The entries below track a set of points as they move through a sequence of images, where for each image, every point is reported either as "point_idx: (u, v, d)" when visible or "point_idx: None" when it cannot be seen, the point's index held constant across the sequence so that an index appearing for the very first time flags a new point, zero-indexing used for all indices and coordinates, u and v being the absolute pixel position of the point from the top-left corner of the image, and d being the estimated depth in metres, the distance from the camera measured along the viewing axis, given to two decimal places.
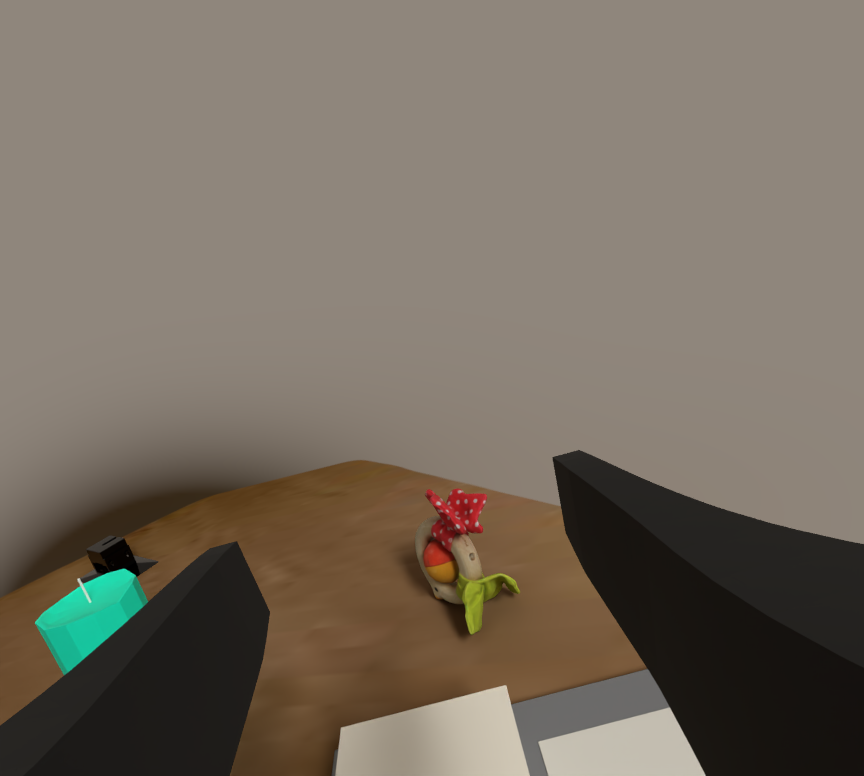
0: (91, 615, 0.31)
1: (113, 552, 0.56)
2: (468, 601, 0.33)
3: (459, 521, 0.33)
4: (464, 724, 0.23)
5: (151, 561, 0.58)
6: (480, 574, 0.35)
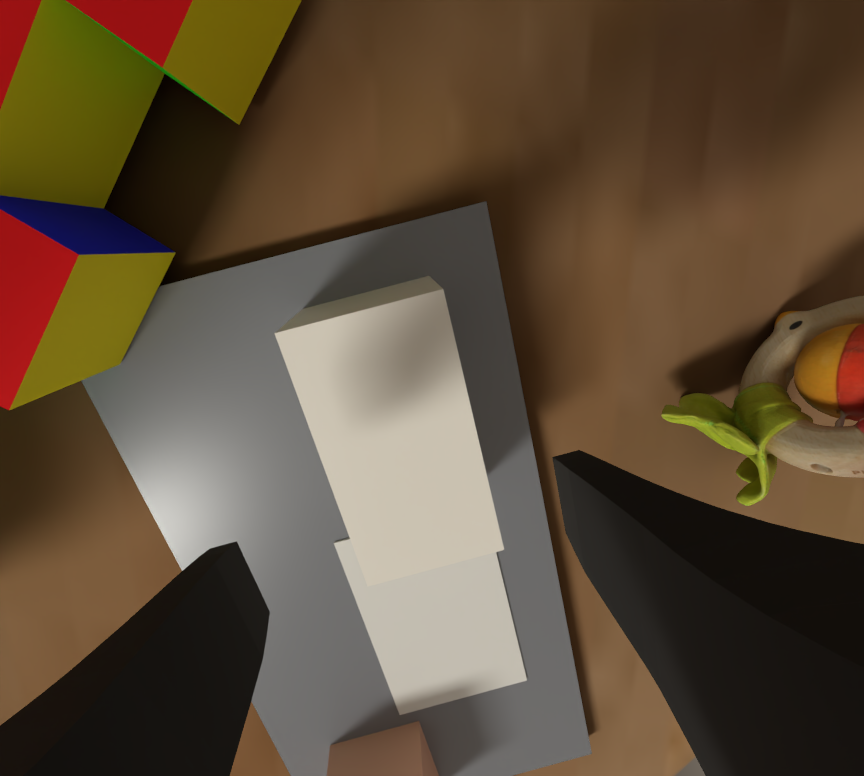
0: None
1: None
2: (717, 432, 0.17)
3: None
4: (443, 500, 0.15)
5: None
6: (778, 457, 0.17)
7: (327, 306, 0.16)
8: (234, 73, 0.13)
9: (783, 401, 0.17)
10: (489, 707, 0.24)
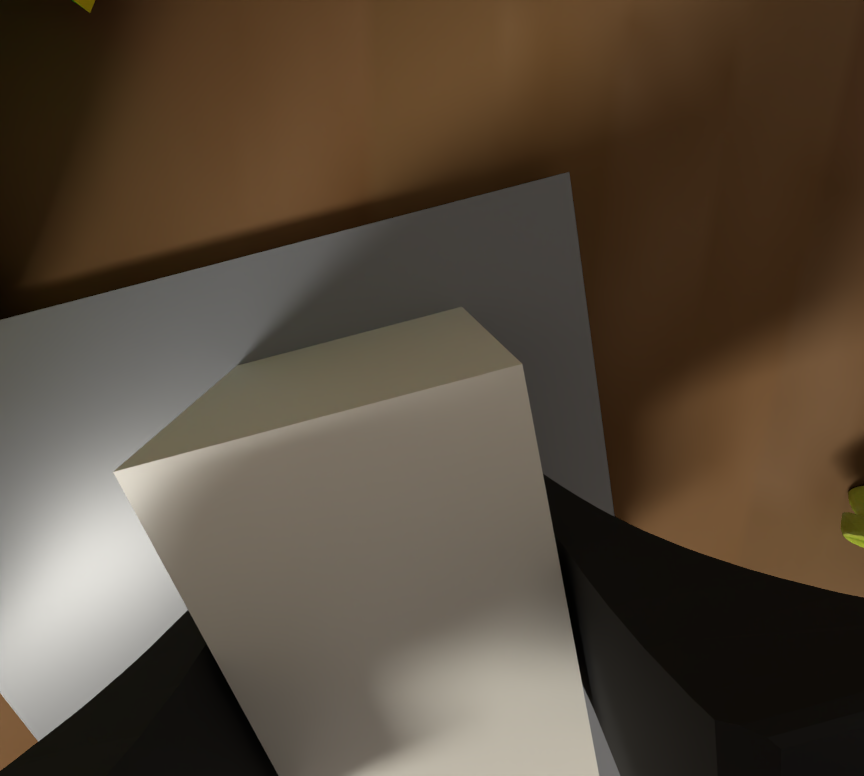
0: None
1: None
2: None
3: None
4: (500, 766, 0.07)
5: None
6: None
7: (273, 369, 0.08)
8: None
9: None
10: None
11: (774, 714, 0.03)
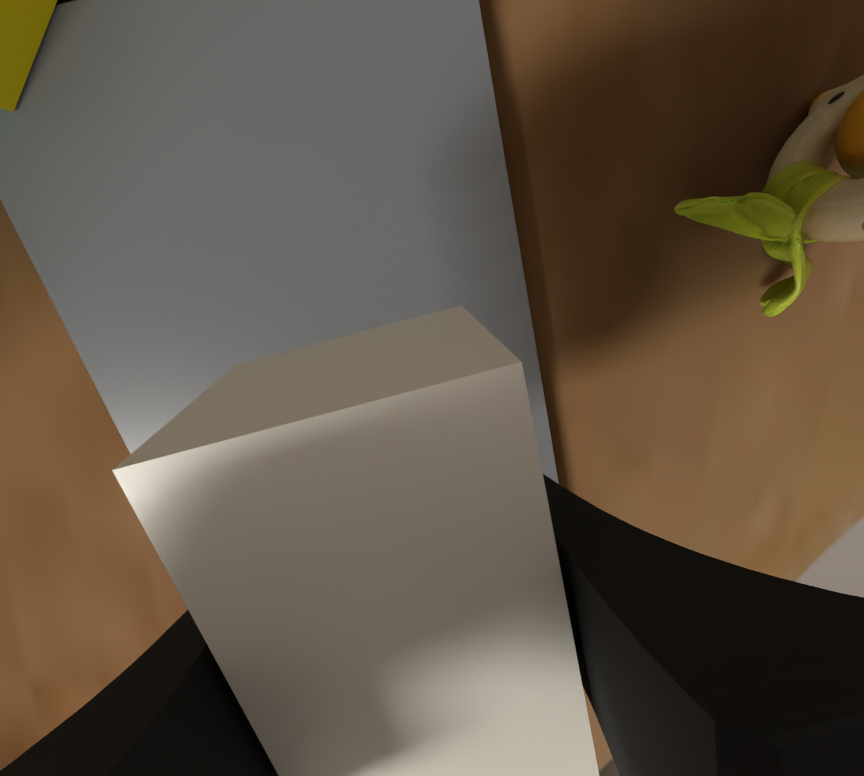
0: None
1: None
2: (744, 207, 0.14)
3: None
4: (500, 765, 0.07)
5: None
6: (817, 237, 0.14)
7: (273, 368, 0.08)
8: None
9: (824, 170, 0.14)
10: None
11: (774, 714, 0.03)
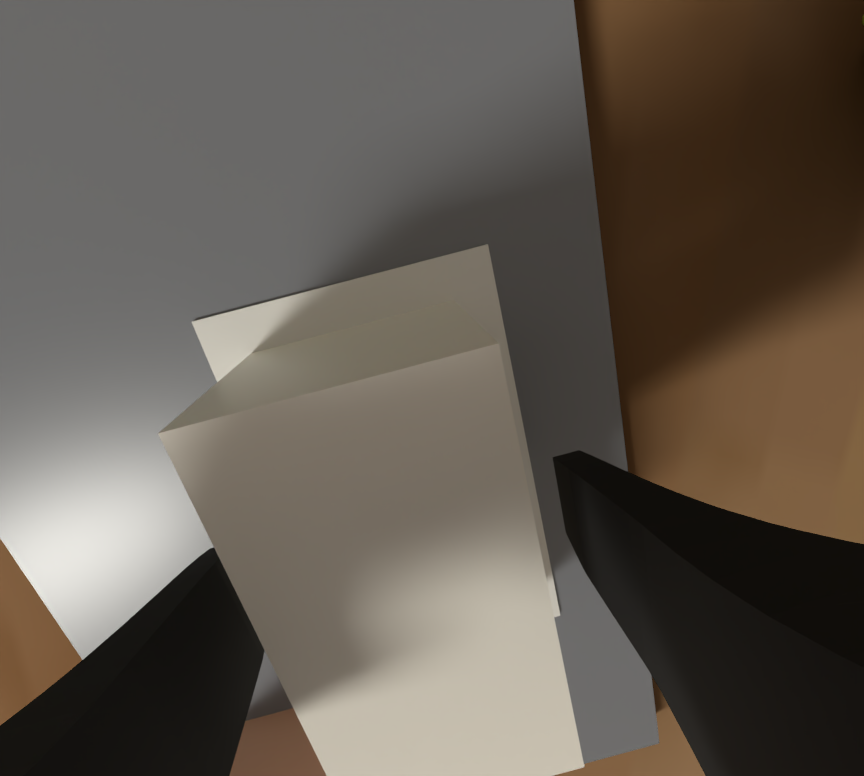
0: None
1: None
2: None
3: None
4: (486, 700, 0.08)
5: None
6: None
7: (285, 355, 0.09)
8: None
9: None
10: None
11: None
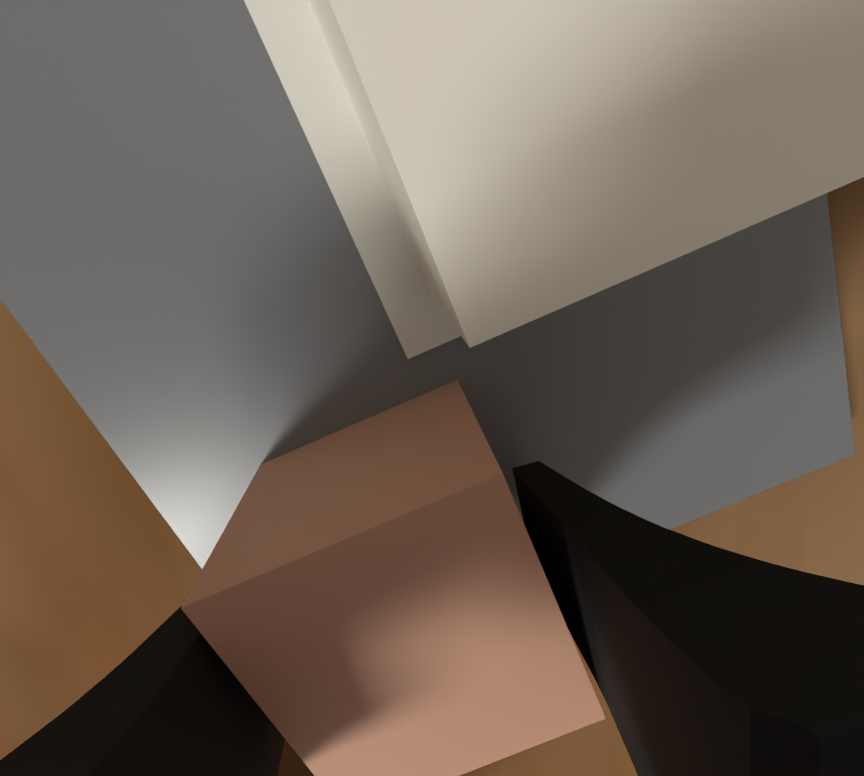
0: None
1: None
2: None
3: None
4: None
5: None
6: None
7: None
8: None
9: None
10: (621, 327, 0.10)
11: (810, 704, 0.03)
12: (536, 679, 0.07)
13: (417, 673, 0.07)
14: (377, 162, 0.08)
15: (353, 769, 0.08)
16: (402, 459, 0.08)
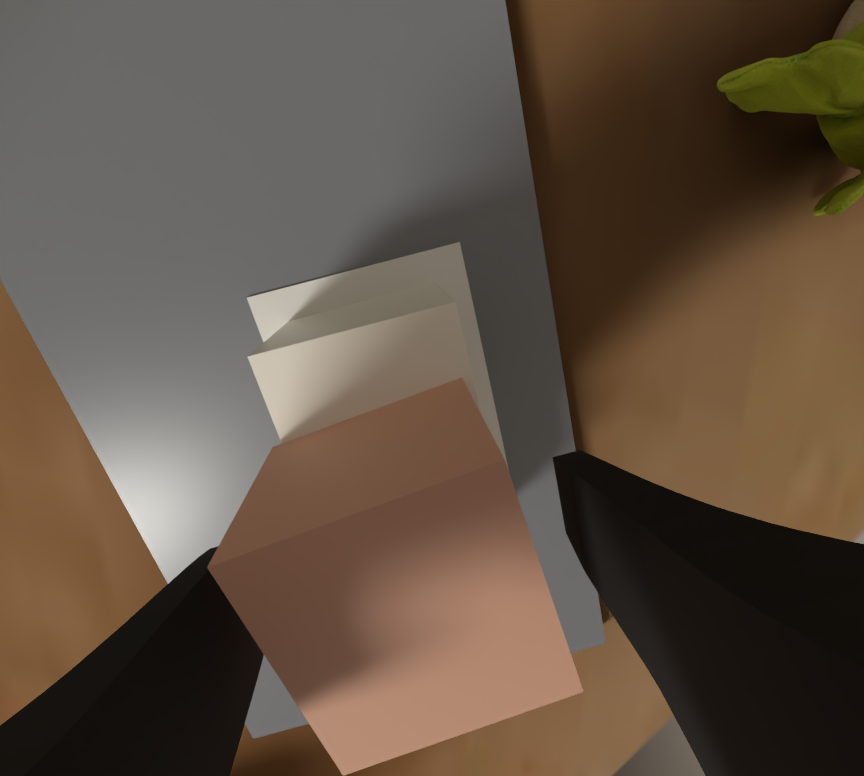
0: None
1: None
2: (810, 64, 0.11)
3: None
4: None
5: None
6: None
7: (316, 319, 0.13)
8: None
9: None
10: None
11: None
12: (523, 651, 0.08)
13: (416, 639, 0.08)
14: None
15: (351, 728, 0.08)
16: (411, 446, 0.08)
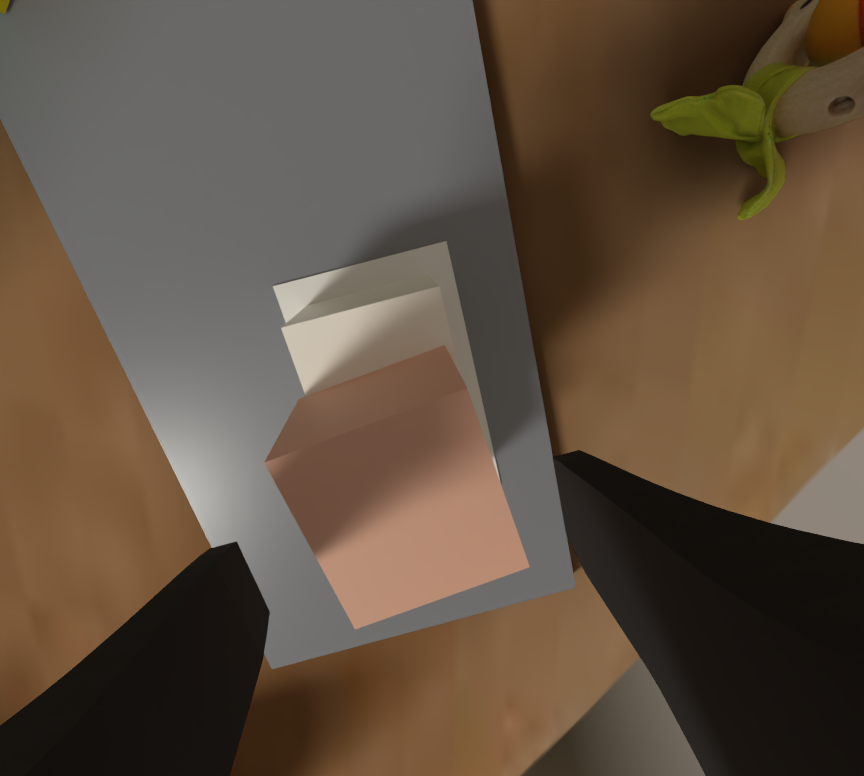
0: None
1: None
2: (716, 102, 0.14)
3: None
4: None
5: None
6: (788, 129, 0.14)
7: (330, 303, 0.16)
8: None
9: (794, 65, 0.14)
10: None
11: None
12: (484, 533, 0.11)
13: (407, 521, 0.11)
14: None
15: (361, 590, 0.11)
16: (404, 387, 0.12)
